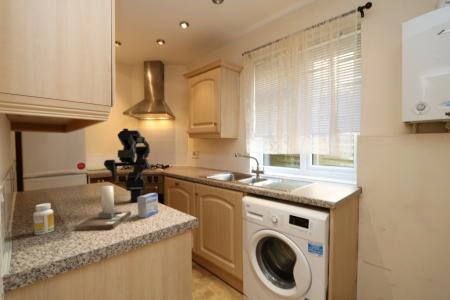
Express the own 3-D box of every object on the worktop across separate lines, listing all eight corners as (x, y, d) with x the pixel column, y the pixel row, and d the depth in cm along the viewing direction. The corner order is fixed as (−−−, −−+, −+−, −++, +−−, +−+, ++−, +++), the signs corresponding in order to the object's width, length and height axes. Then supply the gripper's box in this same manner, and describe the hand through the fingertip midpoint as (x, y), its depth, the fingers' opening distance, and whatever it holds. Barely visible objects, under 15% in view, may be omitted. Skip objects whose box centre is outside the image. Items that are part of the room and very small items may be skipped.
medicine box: (146, 218, 88) (145, 197, 87) (137, 217, 89) (137, 196, 89) (158, 212, 95) (157, 193, 95) (150, 211, 96) (149, 192, 96)
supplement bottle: (52, 227, 80) (50, 201, 79) (55, 231, 76) (54, 204, 76) (32, 232, 75) (31, 205, 75) (36, 236, 72) (34, 207, 72)
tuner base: (100, 215, 92) (100, 211, 92) (130, 214, 93) (130, 210, 93) (75, 230, 76) (75, 225, 76) (112, 229, 77) (112, 224, 77)
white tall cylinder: (105, 214, 89) (104, 185, 88) (124, 213, 89) (123, 185, 89) (98, 218, 84) (97, 188, 83) (118, 217, 84) (117, 187, 84)
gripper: (102, 142, 97) (95, 173, 89) (145, 141, 100) (142, 171, 92) (111, 155, 106) (105, 184, 98) (149, 154, 109) (147, 182, 101)
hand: (124, 180), depth 97 cm, fingers open, 9 cm apart
